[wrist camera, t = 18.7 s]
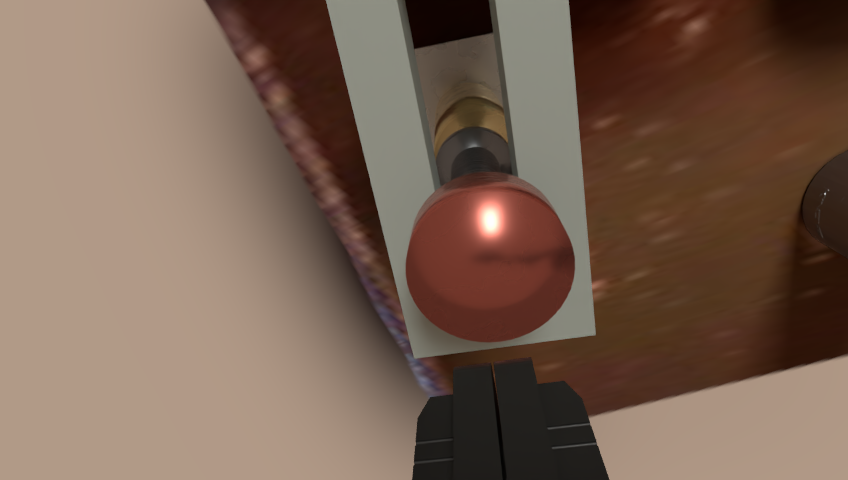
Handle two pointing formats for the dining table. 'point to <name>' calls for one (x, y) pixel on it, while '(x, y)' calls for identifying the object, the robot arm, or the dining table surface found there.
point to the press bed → (456, 69)
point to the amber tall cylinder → (467, 112)
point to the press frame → (413, 150)
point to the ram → (487, 245)
